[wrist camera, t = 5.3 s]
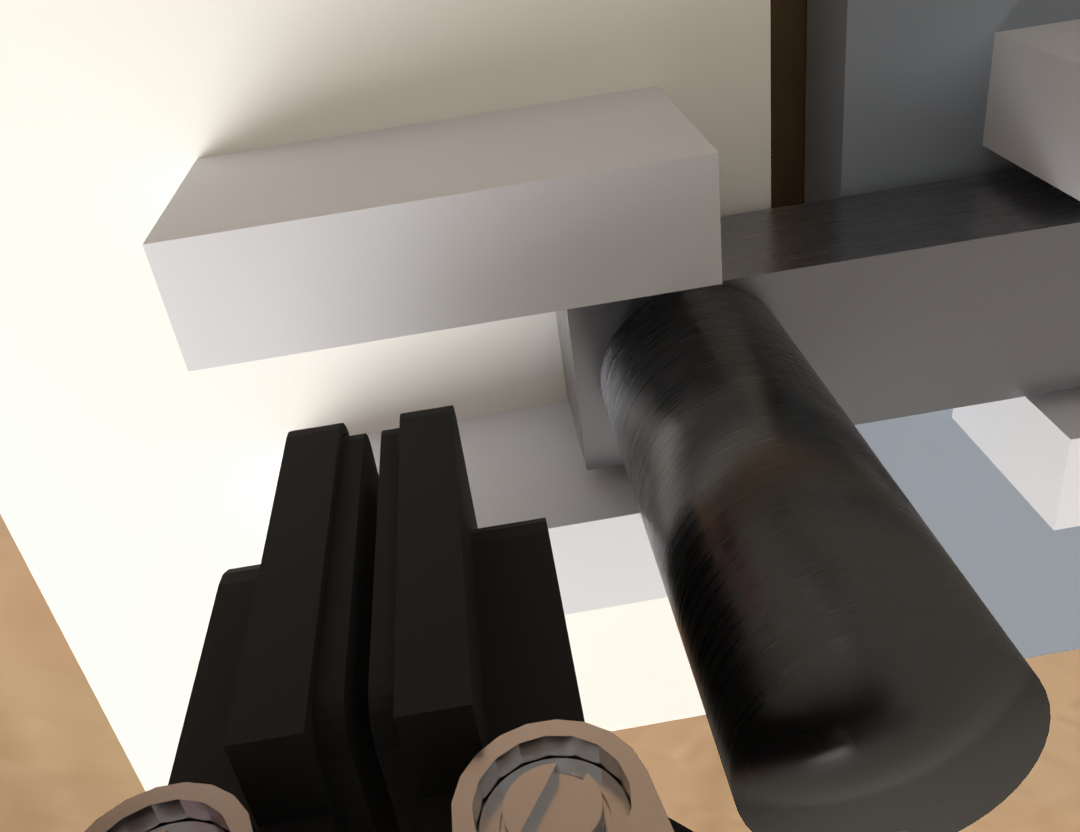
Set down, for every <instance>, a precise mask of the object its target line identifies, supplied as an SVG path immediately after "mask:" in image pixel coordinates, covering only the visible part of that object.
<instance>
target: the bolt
mask: <svg viewBox="0 0 1080 832" xmlns="http://www.w3.org/2000/svg"><path fill="white" fill-rule="evenodd" d="M720 223H721V255H722V284H719V285H713V286H707V287H701V288H695V289H689V290H683V291H677V292H670V293H664V294H658V295H652V296H646V297H640V298H634V299H628V300H622V301H616V302H609V303H603V304H597V305H591V306H585V307H579V308H573V309H567V310H561V311H556V317H557V324H558V332H559V339H560V347H561V355H562V362H563V370H564V378H565V385H566V393H567V398H568V401H569V405H570V409H571V413H572V416H573V420H574V424H575V428H576V431H577V435H578V439H579V443H580V446H581V450H582V454H583V458H584V461H585V465H586V469H587V470H592V469H598V468H604V467H609V466H615V465H621V464H624V466H625V469H626V472H627V475H628V478H629V481H630V484H631V487H632V490H633V493H634V496H635V499H636V502H637V505H638V508H639V511H640V514H641V517H642V520H643V524H644V527H645V530H646V533H647V536H648V539H649V542H650V545H651V548H652V551H653V554H654V557H655V560H656V563H657V566H658V569H659V572H660V575H661V578H662V582H663V585H664V588H665V591H666V594H667V597H668V600H669V603H670V606H671V609H672V612H673V615H674V618H675V621H676V624H677V627H678V630H679V633H680V637H681V640H682V643H683V646H684V649H685V652H686V655H687V658H688V661H689V664H690V667H691V670H692V673H693V676H694V679H695V682H696V685H697V688H698V691H699V695H700V698H701V701H702V704H703V707H704V710H705V713H706V716H707V719H708V722H709V725H710V728H711V731H712V734H713V737H714V740H715V743H716V746H717V749H718V753H719V756H720V759H721V762H722V765H723V768H724V771H725V774H726V777H727V780H728V783H729V786H730V789H731V792H732V795H733V798H734V801H735V804H736V807H737V810H738V812H739V815H740V816H741V818H742V819H743V821H744V823H745V824H746V825H747V827H748V828H749V829H750V830H751V831H752V832H958V831H960V830H962V829H964V828H965V827H967V826H969V825H971V824H972V823H974V822H976V821H977V820H979V819H980V818H981V817H983V816H984V815H986V814H987V813H989V812H990V811H991V810H993V809H994V808H995V807H996V806H998V805H999V804H1000V803H1001V802H1003V801H1004V800H1005V799H1006V798H1007V797H1008V796H1009V795H1010V794H1011V793H1012V792H1013V791H1014V790H1015V789H1016V788H1017V787H1018V786H1019V785H1020V784H1021V782H1022V781H1023V780H1024V779H1025V778H1026V776H1027V775H1028V774H1029V772H1030V771H1031V769H1032V768H1033V766H1034V765H1035V763H1036V762H1037V760H1038V758H1039V756H1040V754H1041V752H1042V750H1043V748H1044V746H1045V742H1046V739H1047V736H1048V733H1049V726H1050V704H1049V701H1048V697H1047V694H1046V691H1045V689H1044V687H1043V685H1042V683H1041V682H1040V680H1039V678H1038V677H1037V675H1036V674H1035V673H1034V671H1033V670H1032V669H1031V667H1030V666H1029V664H1028V663H1027V662H1026V660H1025V659H1024V658H1023V656H1022V655H1021V653H1020V652H1019V651H1018V649H1017V648H1016V647H1015V645H1014V644H1013V642H1012V641H1011V640H1010V638H1009V637H1008V636H1007V634H1006V633H1005V631H1004V630H1003V629H1002V627H1001V626H1000V625H999V623H998V622H997V620H996V619H995V618H994V616H993V615H992V614H991V612H990V611H989V609H988V608H987V607H986V605H985V604H984V603H983V601H982V600H981V598H980V597H979V596H978V594H977V593H976V592H975V590H974V589H973V587H972V586H971V585H970V583H969V582H968V581H967V579H966V578H965V577H964V575H963V574H962V572H961V571H960V570H959V568H958V567H957V566H956V564H955V563H954V561H953V560H952V559H951V557H950V556H949V555H948V553H947V552H946V550H945V549H944V548H943V546H942V545H941V544H940V542H939V541H938V539H937V538H936V537H935V535H934V534H933V533H932V531H931V530H930V528H929V527H928V526H927V524H926V523H925V522H924V520H923V519H922V517H921V516H920V515H919V513H918V512H917V511H916V509H915V508H914V506H913V505H912V504H911V502H910V501H909V500H908V498H907V497H906V495H905V494H904V493H903V491H902V490H901V489H900V487H899V486H898V484H897V483H896V482H895V480H894V479H893V478H892V476H891V475H890V474H889V472H888V471H887V469H886V468H885V467H884V465H883V464H882V463H881V461H880V460H879V458H878V457H877V456H876V454H875V453H874V452H873V450H872V449H871V447H870V446H869V445H868V443H867V442H866V441H865V439H864V438H863V436H862V435H861V434H860V432H859V431H858V430H857V428H856V427H855V425H858V424H864V423H870V422H876V421H882V420H888V419H894V418H900V417H906V416H912V415H918V414H924V413H930V412H935V411H941V410H947V409H953V408H959V407H965V406H971V405H977V404H983V403H989V402H995V401H1001V400H1007V399H1013V398H1018V397H1024V396H1030V395H1036V394H1042V393H1048V392H1054V391H1060V390H1066V389H1072V388H1078V387H1080V201H1079V200H1077V199H1075V198H1073V197H1072V196H1070V195H1068V194H1066V193H1065V192H1063V191H1061V190H1059V189H1058V188H1056V187H1054V186H1052V185H1051V184H1049V183H1047V182H1046V181H1044V180H1042V179H1040V178H1039V177H1037V176H1035V175H1033V174H1032V173H1030V172H1028V171H1026V170H1025V169H1023V168H1018V169H1011V170H1005V171H999V172H993V173H987V174H981V175H974V176H968V177H962V178H956V179H950V180H944V181H937V182H931V183H925V184H919V185H913V186H907V187H900V188H894V189H888V190H882V191H876V192H870V193H863V194H857V195H851V196H845V197H839V198H833V199H826V200H820V201H814V202H808V203H802V204H796V205H789V206H783V207H777V208H771V209H765V210H759V211H752V212H746V213H740V214H734V215H728V216H721V217H720Z"/></svg>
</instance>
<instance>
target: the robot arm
mask: <svg viewBox="0 0 1080 832" xmlns="http://www.w3.org/2000/svg"><path fill="white" fill-rule="evenodd" d="M85 832H693V831H691V830H690V829H688V828H686V827H684V826H683V825H681V824H679V823H677V822H676V821H674V820H672V819H670V818H669V817H668V816H667V814H666V812H665V809H664V807H663V805H662V803H661V800H660V798H659V796H658V794H657V791H656V789H655V787H654V784H653V782H652V780H651V778H650V775H649V773H648V771H647V769H646V768H645V766H644V765H643V763H642V762H641V760H640V759H639V757H638V756H637V754H636V753H635V751H634V750H633V748H632V747H630V746H629V745H628V744H626V743H625V742H624V741H622V740H621V739H620V738H618V737H617V736H616V735H614V734H613V733H612V732H610V731H608V730H605V729H602V728H600V727H597V726H594V725H592V724H589V723H586V722H585V720H584V715H583V709H582V704H581V699H580V694H579V688H578V683H577V678H576V673H575V668H574V662H573V657H572V652H571V647H570V641H569V636H568V631H567V626H566V620H565V615H564V610H563V605H562V599H561V594H560V589H559V584H558V578H557V573H556V568H555V563H554V557H553V552H552V547H551V542H550V536H549V531H548V526H547V521H546V518H539V519H533V520H527V521H521V522H515V523H509V524H502V525H496V526H490V527H484V528H478V526H477V521H476V516H475V511H474V506H473V501H472V495H471V490H470V485H469V480H468V475H467V470H466V464H465V459H464V454H463V449H462V444H461V439H460V433H459V428H458V423H457V418H456V414H455V410H454V407H453V405H451V406H444V407H438V408H432V409H426V410H419V411H413V412H407V413H401V414H400V423H399V428H395V429H389V430H383V431H382V432H381V445H380V465H379V475H378V471H377V467H376V463H375V459H374V455H373V451H372V447H371V443H370V440H369V437H368V435H367V434H366V433H364V434H358V435H351V436H350V435H349V432H348V430H347V427H346V425H345V424H344V423H338V424H332V425H325V426H319V427H313V428H306V429H300V430H294V431H290V432H288V435H287V437H286V442H285V447H284V452H283V457H282V462H281V467H280V472H279V477H278V482H277V487H276V491H275V496H274V501H273V506H272V511H271V516H270V521H269V526H268V531H267V536H266V541H265V546H264V550H263V555H262V560H261V564H258V565H252V566H246V567H240V568H234V569H228V570H227V571H226V572H225V573H224V574H223V575H222V578H221V580H220V583H219V585H218V589H217V593H216V597H215V601H214V605H213V609H212V613H211V617H210V621H209V625H208V629H207V633H206V637H205V641H204V645H203V648H202V652H201V656H200V660H199V664H198V668H197V672H196V676H195V680H194V684H193V688H192V692H191V696H190V700H189V704H188V708H187V712H186V716H185V720H184V724H183V728H182V731H181V735H180V739H179V743H178V747H177V751H176V755H175V759H174V763H173V767H172V771H171V775H170V779H169V783H168V785H166V786H160V787H155V788H153V789H151V790H148V791H146V792H144V793H141V794H139V795H136V796H134V797H132V798H129V799H127V800H125V801H123V802H122V803H120V804H119V805H117V806H116V807H114V808H113V809H111V810H110V811H108V812H107V813H106V814H104V815H103V816H101V817H100V818H98V819H97V820H96V821H95V822H94V823H93V824H92V825H91V826H90V827H89V828H88V829H87V830H86V831H85Z"/></svg>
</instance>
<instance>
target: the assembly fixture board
mask: <svg viewBox="0 0 1080 832" xmlns="http://www.w3.org/2000/svg"><path fill="white" fill-rule="evenodd" d="M1018 168H1023V169H1025V170H1026V171H1028V172H1030V173H1032V174H1033V175H1035V176H1037V177H1039V178H1040V179H1042V180H1044V181H1046V182H1047V183H1049V184H1051V185H1052V186H1054V187H1056V188H1058V189H1059V190H1061V191H1063V192H1065V193H1066V194H1068V195H1070V196H1072V197H1073V198H1075V199H1077V200H1079V201H1080V0H807V47H806V111H805V175H804V203H808V202H814V201H820V200H826V199H833V198H839V197H845V196H851V195H857V194H863V193H870V192H876V191H882V190H888V189H894V188H900V187H907V186H913V185H919V184H925V183H931V182H937V181H944V180H950V179H956V178H962V177H968V176H974V175H981V174H987V173H993V172H999V171H1005V170H1011V169H1018ZM765 209H771V17H770V0H0V514H1V516H2V518H3V520H4V522H5V524H6V526H7V528H8V529H9V531H10V533H11V535H12V537H13V539H14V541H15V543H16V545H17V547H18V549H19V550H20V552H21V554H22V556H23V558H24V560H25V562H26V564H27V566H28V568H29V570H30V571H31V573H32V575H33V577H34V579H35V581H36V583H37V585H38V587H39V589H40V591H41V592H42V594H43V596H44V598H45V600H46V602H47V604H48V606H49V608H50V610H51V612H52V613H53V615H54V617H55V619H56V621H57V623H58V625H59V627H60V629H61V631H62V633H63V634H64V636H65V638H66V640H67V642H68V644H69V646H70V648H71V650H72V652H73V654H74V655H75V657H76V659H77V661H78V663H79V665H80V667H81V669H82V671H83V673H84V675H85V676H86V678H87V680H88V682H89V684H90V686H91V688H92V690H93V692H94V694H95V696H96V697H97V699H98V701H99V703H100V705H101V707H102V709H103V711H104V713H105V715H106V717H107V718H108V720H109V722H110V724H111V726H112V728H113V730H114V732H115V734H116V736H117V738H118V740H119V741H120V743H121V745H122V747H123V749H124V751H125V753H126V755H127V757H128V759H129V761H130V762H131V764H132V766H133V768H134V770H135V772H136V774H137V776H138V778H139V780H140V782H141V783H142V785H143V787H144V789H145V791H148V790H151V789H153V788H155V787H160V786H166V785H168V783H169V779H170V775H171V771H172V767H173V763H174V759H175V755H176V751H177V747H178V743H179V739H180V735H181V731H182V728H183V724H184V720H185V716H186V712H187V708H188V704H189V700H190V696H191V692H192V688H193V684H194V680H195V676H196V672H197V668H198V664H199V660H200V656H201V652H202V648H203V645H204V641H205V637H206V633H207V629H208V625H209V621H210V617H211V613H212V609H213V605H214V601H215V597H216V593H217V589H218V585H219V583H220V580H221V578H222V575H223V574H224V573H225V572H226V571H227V570H228V569H234V568H240V567H246V566H252V565H258V564H261V560H262V555H263V550H264V546H265V541H266V536H267V531H268V526H269V521H270V516H271V511H272V506H273V501H274V496H275V491H276V487H277V482H278V477H279V472H280V467H281V462H282V457H283V452H284V447H285V442H286V437H287V435H288V432H290V431H294V430H300V429H306V428H313V427H319V426H325V425H332V424H338V423H344V424H345V425H346V427H347V430H348V432H349V435H350V436H351V435H358V434H364V433H366V434H367V435H368V437H369V440H370V443H371V447H372V451H373V455H374V459H375V463H376V467H377V471H378V475H379V465H380V445H381V432H382V431H383V430H389V429H395V428H399V423H400V414H401V413H407V412H413V411H419V410H426V409H432V408H438V407H444V406H451V405H453V407H454V410H455V414H456V418H457V423H458V428H459V433H460V439H461V444H462V449H463V454H464V459H465V464H466V470H467V475H468V480H469V485H470V490H471V495H472V501H473V506H474V511H475V516H476V521H477V526H478V528H484V527H490V526H496V525H502V524H509V523H515V522H521V521H527V520H533V519H539V518H546V521H547V526H548V531H549V536H550V542H551V547H552V552H553V557H554V563H555V568H556V573H557V578H558V584H559V589H560V594H561V599H562V605H563V610H564V615H565V620H566V626H567V631H568V636H569V641H570V647H571V652H572V657H573V662H574V668H575V673H576V678H577V683H578V688H579V694H580V699H581V704H582V709H583V715H584V720H585V722H586V723H589V724H592V725H594V726H597V727H600V728H602V729H605V730H608V731H615V730H621V729H627V728H632V727H638V726H644V725H649V724H655V723H661V722H666V721H672V720H678V719H683V718H689V717H695V716H700V715H706V713H705V710H704V707H703V704H702V701H701V698H700V695H699V691H698V688H697V685H696V682H695V679H694V676H693V673H692V670H691V667H690V664H689V661H688V658H687V655H686V652H685V649H684V646H683V643H682V640H681V637H680V633H679V630H678V627H677V624H676V621H675V618H674V615H673V612H672V609H671V606H670V603H669V600H668V597H667V594H666V591H665V588H664V585H663V582H662V578H661V575H660V572H659V569H658V566H657V563H656V560H655V557H654V554H653V551H652V548H651V545H650V542H649V539H648V536H647V533H646V530H645V527H644V524H643V520H642V517H641V514H640V511H639V508H638V505H637V502H636V499H635V496H634V493H633V490H632V487H631V484H630V481H629V478H628V475H627V472H626V469H625V466H624V464H621V465H615V466H609V467H604V468H598V469H592V470H587V469H586V465H585V461H584V458H583V454H582V450H581V446H580V443H579V439H578V435H577V431H576V428H575V424H574V420H573V416H572V413H571V409H570V405H569V401H568V398H567V393H566V385H565V378H564V370H563V362H562V355H561V347H560V339H559V332H558V324H557V317H556V311H561V310H567V309H573V308H579V307H585V306H591V305H597V304H603V303H609V302H616V301H622V300H628V299H634V298H640V297H646V296H652V295H658V294H664V293H670V292H677V291H683V290H689V289H695V288H701V287H707V286H713V285H719V284H722V255H721V223H720V217H721V216H728V215H734V214H740V213H746V212H752V211H759V210H765ZM855 427H856V428H857V430H858V431H859V432H860V434H861V435H862V436H863V438H864V439H865V441H866V442H867V443H868V445H869V446H870V447H871V449H872V450H873V452H874V453H875V454H876V456H877V457H878V458H879V460H880V461H881V463H882V464H883V465H884V467H885V468H886V469H887V471H888V472H889V474H890V475H891V476H892V478H893V479H894V480H895V482H896V483H897V484H898V486H899V487H900V489H901V490H902V491H903V493H904V494H905V495H906V497H907V498H908V500H909V501H910V502H911V504H912V505H913V506H914V508H915V509H916V511H917V512H918V513H919V515H920V516H921V517H922V519H923V520H924V522H925V523H926V524H927V526H928V527H929V528H930V530H931V531H932V533H933V534H934V535H935V537H936V538H937V539H938V541H939V542H940V544H941V545H942V546H943V548H944V549H945V550H946V552H947V553H948V555H949V556H950V557H951V559H952V560H953V561H954V563H955V564H956V566H957V567H958V568H959V570H960V571H961V572H962V574H963V575H964V577H965V578H966V579H967V581H968V582H969V583H970V585H971V586H972V587H973V589H974V590H975V592H976V593H977V594H978V596H979V597H980V598H981V600H982V601H983V603H984V604H985V605H986V607H987V608H988V609H989V611H990V612H991V614H992V615H993V616H994V618H995V619H996V620H997V622H998V623H999V625H1000V626H1001V627H1002V629H1003V630H1004V631H1005V633H1006V634H1007V636H1008V637H1009V638H1010V640H1011V641H1012V642H1013V644H1014V645H1015V647H1016V648H1017V649H1018V651H1019V652H1020V653H1021V655H1022V656H1023V658H1029V657H1035V656H1041V655H1047V654H1052V653H1058V652H1064V651H1069V650H1075V649H1080V387H1078V388H1072V389H1066V390H1060V391H1054V392H1048V393H1042V394H1036V395H1030V396H1024V397H1018V398H1013V399H1007V400H1001V401H995V402H989V403H983V404H977V405H971V406H965V407H959V408H953V409H947V410H941V411H935V412H930V413H924V414H918V415H912V416H906V417H900V418H894V419H888V420H882V421H876V422H870V423H864V424H858V425H855Z"/></svg>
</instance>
